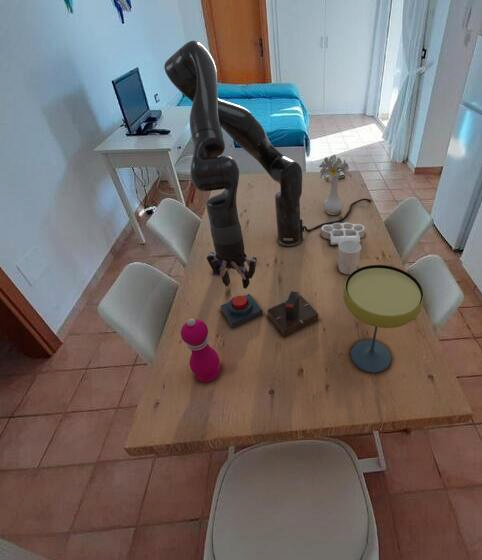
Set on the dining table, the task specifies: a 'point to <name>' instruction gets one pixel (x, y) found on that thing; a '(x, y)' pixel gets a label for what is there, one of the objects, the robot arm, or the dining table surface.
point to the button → (239, 302)
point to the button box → (241, 312)
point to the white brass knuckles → (342, 232)
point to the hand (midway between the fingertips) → (236, 285)
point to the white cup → (348, 256)
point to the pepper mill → (200, 350)
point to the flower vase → (333, 183)
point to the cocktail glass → (380, 308)
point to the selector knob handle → (292, 305)
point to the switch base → (301, 320)
